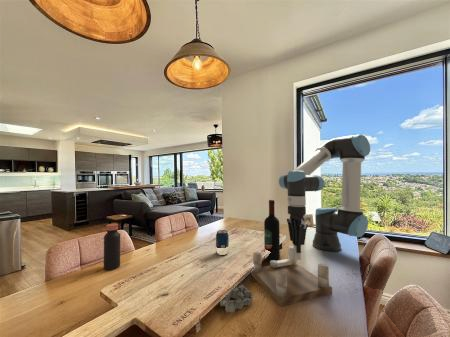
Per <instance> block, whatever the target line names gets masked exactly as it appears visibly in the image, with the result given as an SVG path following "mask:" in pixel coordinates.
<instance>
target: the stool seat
mask: <svg viewBox="0 0 450 337" xmlns="http://www.w3.org/2000/svg"><path fill="white" fill-rule="evenodd" d="M262 254H263V253H262V252H259V251H255V252H253V253H252V265H253V264H254V265H255V269H254V270H253V272H252V273H251V272H250V275H251V277H253V278H254V280H255V281H256V282H257V283H259V285H260V286H261V287H262V288H263V290H265V291H266V293H267V294H268V295H269V296H270V297H271V298H272V300H274V301H275V303H276V304H277V305H278V306H279V307H283V306H286V305H291V304H294V303H300V302H303V301H307V300H312V299H316V298H320V297H324V296H327V295H332V294H333V286H332V285H330V283H329V281H330V275H329V274H330V272H329V270H330V268H329V265H327V264H325V263H318V264H317V276H316V275H315V274H313V273H312V272H310V271H309V270H307V269H306V268H304V267H303V266H301V265H300V264H299V263H298V262H297V264H295V265H292V264H291V265H286V266H281V267H277V268H272V267H270V265H266V266H263V265H262V261H263V260H262V259H263V258H262V256H263V255H262Z"/></svg>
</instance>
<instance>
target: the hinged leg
mask: <svg viewBox="0 0 450 337" xmlns="http://www.w3.org/2000/svg"><path fill="white" fill-rule="evenodd" d="M287 248H288V250H287V252H288V254H287V255H288V258H285V259H280V260H278V261H275V260H271V261H270V262H269V266H270V267H272V268H277V267H281V266H286V265H291V264H292V265H295V264H297V263H298V262H297V261H298V260H294V250H293V245H289V246H288V247H287Z"/></svg>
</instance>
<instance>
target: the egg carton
mask: <svg viewBox="0 0 450 337" xmlns="http://www.w3.org/2000/svg"><path fill="white" fill-rule="evenodd" d="M254 297H255V296H254V294H252V292H251V291H250V290H249V289H248V288H247V287H245V285H244V284H241V285H239V286H237V287H235V288H234V289H233V290H232V291H231V292H230V293H229V294H227V295H226V297H225V298H224V299H222V300H221V301H220V303H219V304H220V306H221V307H225V311H226V313H235V312H236V309H239V310H241V309H244V306H251V305H252V302H253V298H254ZM231 298H232V299H236V300H232V299H231Z"/></svg>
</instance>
